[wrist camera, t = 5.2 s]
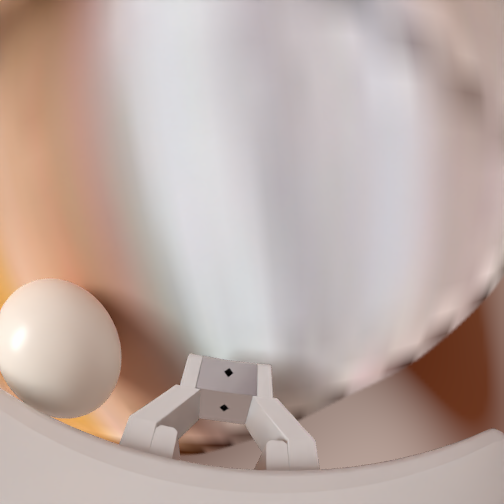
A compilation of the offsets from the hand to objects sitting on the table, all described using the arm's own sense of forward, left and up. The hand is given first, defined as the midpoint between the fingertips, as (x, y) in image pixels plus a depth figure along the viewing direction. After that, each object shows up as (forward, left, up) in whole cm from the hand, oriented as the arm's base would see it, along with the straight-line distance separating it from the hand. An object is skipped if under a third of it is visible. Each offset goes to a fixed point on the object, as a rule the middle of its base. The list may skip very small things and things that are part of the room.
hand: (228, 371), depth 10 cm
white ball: (+7, -2, +1) cm, 7 cm away
